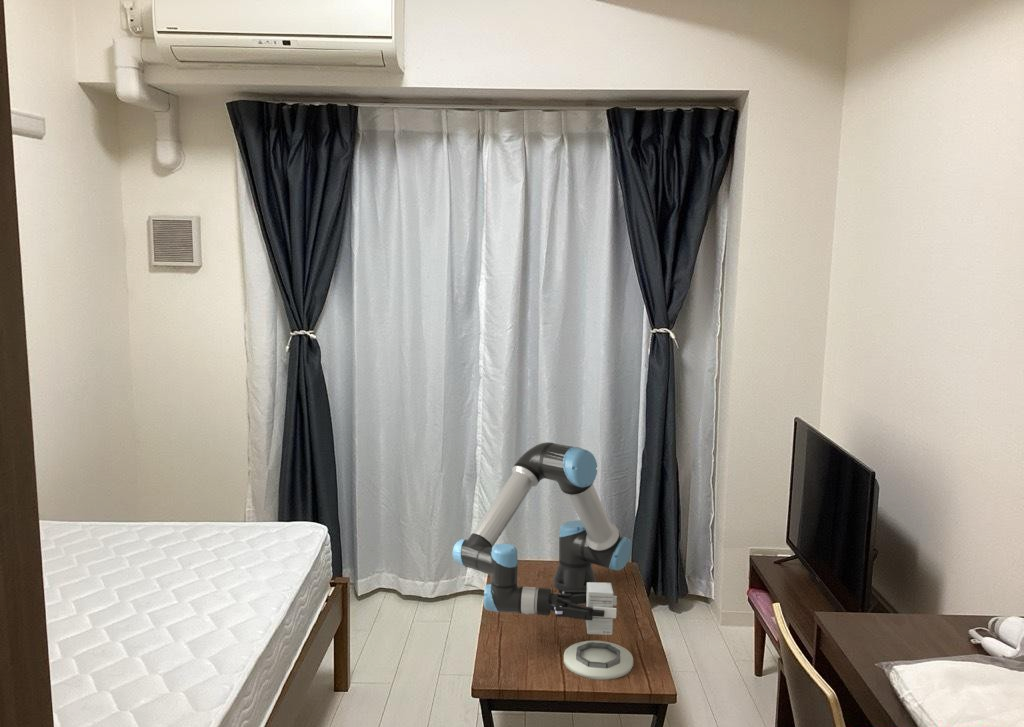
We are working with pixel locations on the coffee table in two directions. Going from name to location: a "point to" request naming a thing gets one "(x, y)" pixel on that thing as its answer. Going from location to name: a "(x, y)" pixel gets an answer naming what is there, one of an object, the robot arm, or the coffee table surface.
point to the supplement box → (599, 598)
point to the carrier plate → (598, 656)
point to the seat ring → (598, 664)
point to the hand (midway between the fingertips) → (616, 606)
